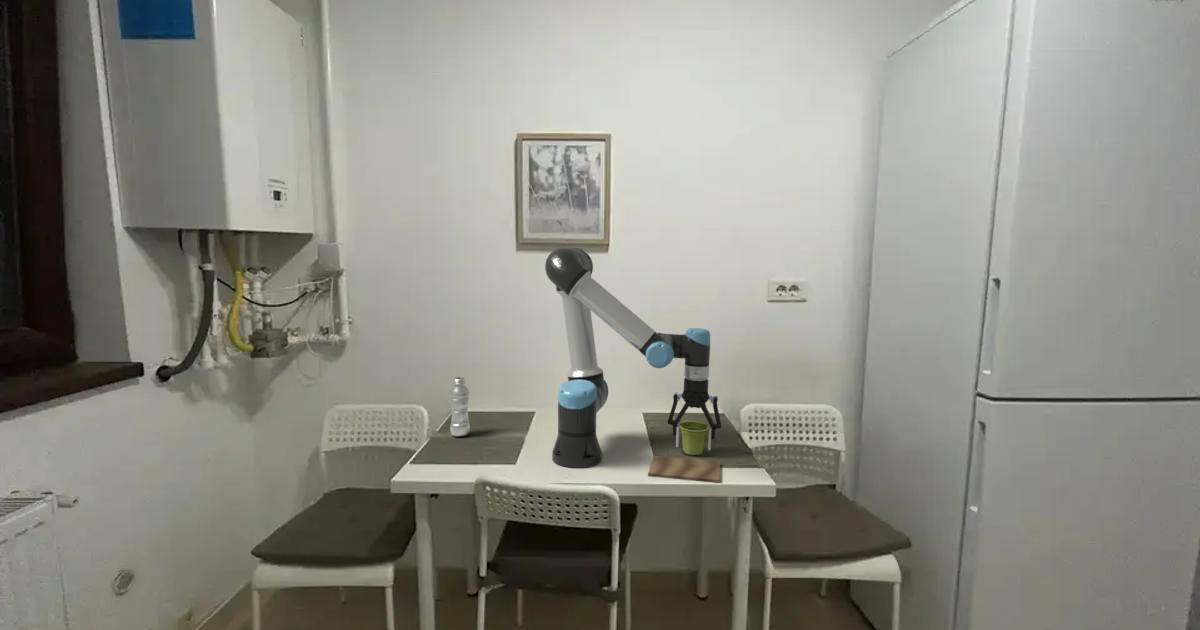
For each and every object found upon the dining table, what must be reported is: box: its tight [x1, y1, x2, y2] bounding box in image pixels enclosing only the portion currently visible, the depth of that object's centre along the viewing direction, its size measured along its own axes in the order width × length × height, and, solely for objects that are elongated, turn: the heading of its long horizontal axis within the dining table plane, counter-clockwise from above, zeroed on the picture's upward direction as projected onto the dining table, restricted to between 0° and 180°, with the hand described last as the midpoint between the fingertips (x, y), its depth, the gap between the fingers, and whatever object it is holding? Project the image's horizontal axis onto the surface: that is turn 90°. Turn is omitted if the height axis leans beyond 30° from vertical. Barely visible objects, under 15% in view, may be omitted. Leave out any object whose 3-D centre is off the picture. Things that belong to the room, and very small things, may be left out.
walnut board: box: [647, 455, 721, 484], centre depth 167 cm, size 20×14×1 cm
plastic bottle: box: [449, 376, 471, 437], centre depth 194 cm, size 6×7×20 cm
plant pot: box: [678, 420, 710, 456], centre depth 180 cm, size 9×9×9 cm
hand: (693, 447), depth 180 cm, fingers closed on plant pot, 9 cm apart
